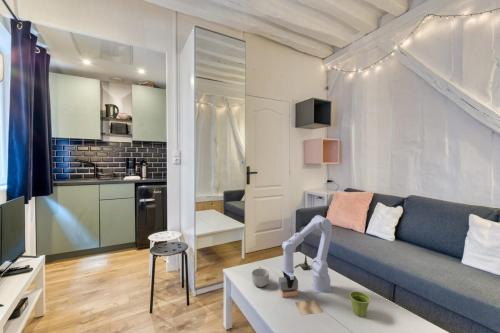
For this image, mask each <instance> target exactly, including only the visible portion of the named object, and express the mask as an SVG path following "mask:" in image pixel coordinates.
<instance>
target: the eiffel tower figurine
mask: <svg viewBox="0 0 500 333" xmlns="http://www.w3.org/2000/svg"><path fill="white" fill-rule="evenodd" d="M304 252H305V251H304ZM304 254H305V255H304V256H305V257H304V262H303V263H298V264H296V265H295V266H293V269H297V268H299V267H300V268H301V269H302V271H311V269H312V268H311V265H310V264H308V260H307V251H306V252H305V253H304Z"/></svg>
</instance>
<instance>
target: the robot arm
mask: <svg viewBox="0 0 500 333" xmlns="http://www.w3.org/2000/svg"><path fill="white" fill-rule="evenodd" d="M332 225H333V223H332V222H331V220H330V219H329V218H326V217H324V216H322V215H321V214H316V215H315V216H314V217H312V218H311V220H310V222H309V223H308V224H307V225H306V226H305V227H304V228H303V229H302V230H301V231H300V232H296V233H293V235H292V236H291V237H290V238H289V239H287V240H285V241H283V242H282V245H281V248H282V249H283V252H282V253H283V254H282V256H283V260H282V261H283V264H282V266H283V268H282V269H281V272H282V274H283V277H286V280H287V285H288V288H292V286H293V282H294V280H295V278H297V276H296V275H295V274H294V271H295V270H294V269H295V268H294V253H295V251H296V248H297V247H298V246H299V245H301V243H303V241H304V239H305V237H307V235H309V234H311V233H312V232H314V230H320V231H321V232H322V233H321V235H320V236H321V237H320V241H319V246H318V249H317V254H316V257H314V258H313V261H312V262H311V265H310V266H311V267H310V269H312V277H313V278H312V280H313V281H312V283H313V284H310V286H311V288H312V289H313V291H314V292H315V293H316V294H317V293H328V292H332V290H331V277H330V275H329V268H328V267H329V264H328V262H327V257H328V254H329V249H330V245H331V240H332V235H333V226H332Z"/></svg>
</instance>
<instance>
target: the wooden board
mask: <svg viewBox="0 0 500 333" xmlns="http://www.w3.org/2000/svg"><path fill="white" fill-rule="evenodd" d="M294 303H295V305H296V307H297V309H298V311H299V314H300V316H304V315H312V314H313V315H314V314H319V313H320V314H322V313H324V311H323V309H322V307H321V306H320V304H319V303H318V301H317V300H316V299H311V300H310V299H309V300H302V301H295V302H294Z"/></svg>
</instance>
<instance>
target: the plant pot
mask: <svg viewBox="0 0 500 333" xmlns="http://www.w3.org/2000/svg"><path fill="white" fill-rule="evenodd" d="M349 297H350V300H351V306H352V312H353V313H354V315H355V316H357V317H360V318H362V317H363V318H364V317H366V316H367V312H368V306H369V304H370V301H371V298H370V296H369V295H368V294H366V293H365V292H363V291H359V290H358V291H357V290H355V291H350V293H349Z"/></svg>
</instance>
